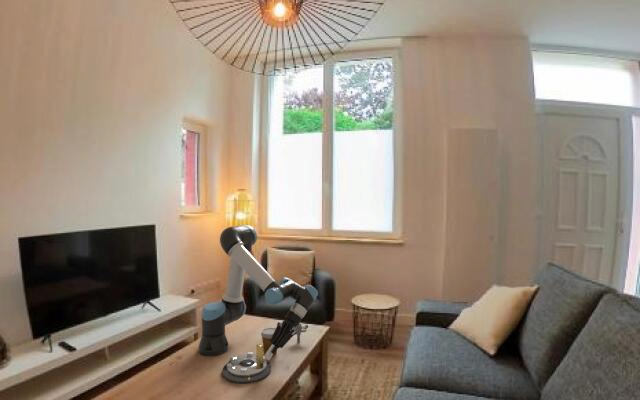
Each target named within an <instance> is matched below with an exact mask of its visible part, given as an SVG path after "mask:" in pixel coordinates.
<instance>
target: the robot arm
mask: <svg viewBox="0 0 640 400" xmlns="http://www.w3.org/2000/svg"><path fill="white" fill-rule="evenodd" d="M257 240H258V234H257V232H256V229H255V228H254V227H253V226H251V225H248V224H241V225H235V226H228V227H226V228H225V229H224V230H223V231H222V232H221V233H220V236H219V243H220V246H221V249H222V250H223V251H224V253H225V254H226V255H227V257H229V258H230V262H229V267H228V276H227V281H226V288H225V293H224V294H223V295H222V296H221V301H214V302H210V303H207V304H205V305H204V306H203V307H202V311H201V336H200V337H201V338H200V340H199V344H198V347H197V349H198V350H197V353H198V354H200V355H202V356H206V357H207V356H208V357H213V356H219V355H222V354H225V353H226V352H228V350H229V341H228V338H227V335H226V326H227V325H229V324H231V323H233V322H236V321H238V320H240V319H241V318H242V317H243V316H245V313H246V310H247V305H246V303H245V299H244V297H243V295H242V293H243V286H244V280H245V274H247V275H248V276H249V277H250V278H251V280H252V281H253V282H254V283H255V284H256V285H257V286H258V287H259V289H261V290H262V291H263V293H264V299H265V302H266V303H267V304H269V305H273V306H274V305H277V304H280V303H282V302H283V301H285V300H287V299H289V298H292V299H293V300H295V301H294V303H293V304H292V305H291V307H290V308H289V310H288V312H287V313H286V314H285V319H284V320H283V321H282V322H279V321H278V322H277V324H276V329H275V331H274V333H273V335H272V338H271V340H270V341H271V343H272V344H271V345H270V347H269V348H268V351H267V352H266V354H265V355H264V357H265V358H266V361H270V360H271V359H272V358H273V357H272V355H273V354H274V353H275V352H276V350H277V351H278V349H283V348H284V347H285V345H286V344H287V343H288V342H289V341H290V340H291V338H293V337H294V336H296V333H297V332H296V331H295V328H296V326H298V325H299V324H301V322H302V319H304V318H305V316H306V314H307V312H308V311H309V309H310V308H311V306H312V305H313V304H314V303H315V301H316V299H317V297H318V295H319V292H318V290H317V289H316V288H315V287H314V286H312V285H310V284H307V285H305V286H303V285H301V284H299V283H297V282H296V281H294V280H293V279H291V278H288V276H287V277H283V278H282V279H281V280H280V281H279V283H278V282H277V281H276V280H275V279H274V278H273V276H272V275H271V274H270V272H268V271H267V270H266V269H265V268H264V267H263V265H261V263H259V262H258V261H257V259H256V258H255V257H254V256H253V255H252V254H251V252H252V247H253V245H255V244H256V243H257Z"/></svg>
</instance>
